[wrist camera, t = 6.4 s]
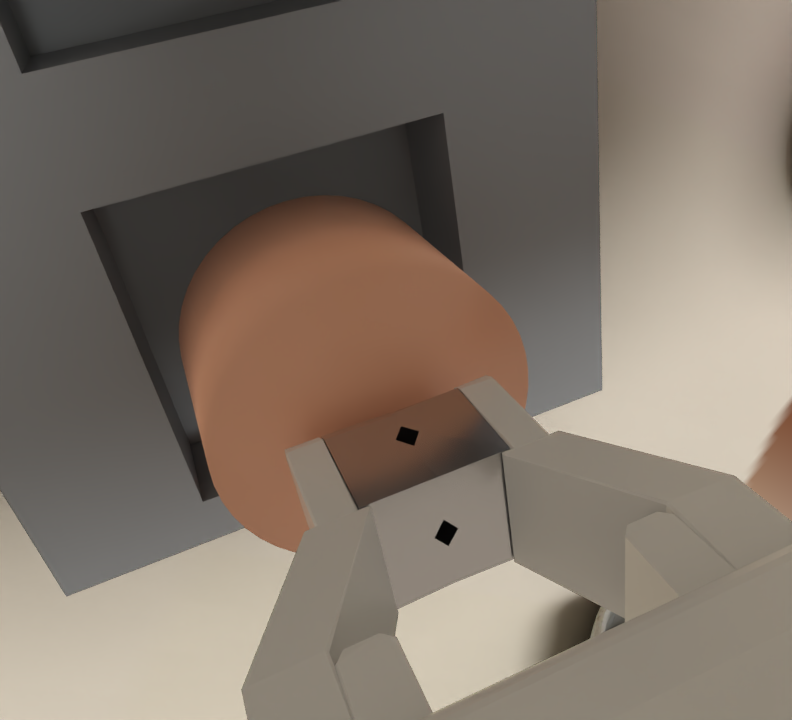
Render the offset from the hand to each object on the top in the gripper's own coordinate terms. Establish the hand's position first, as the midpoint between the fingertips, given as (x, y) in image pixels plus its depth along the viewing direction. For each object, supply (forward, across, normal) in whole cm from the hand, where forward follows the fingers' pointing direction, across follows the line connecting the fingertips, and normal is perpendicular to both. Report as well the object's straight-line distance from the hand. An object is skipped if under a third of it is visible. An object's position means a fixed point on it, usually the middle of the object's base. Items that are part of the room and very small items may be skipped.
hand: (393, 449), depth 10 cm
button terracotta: (+4, 0, 0) cm, 4 cm away
